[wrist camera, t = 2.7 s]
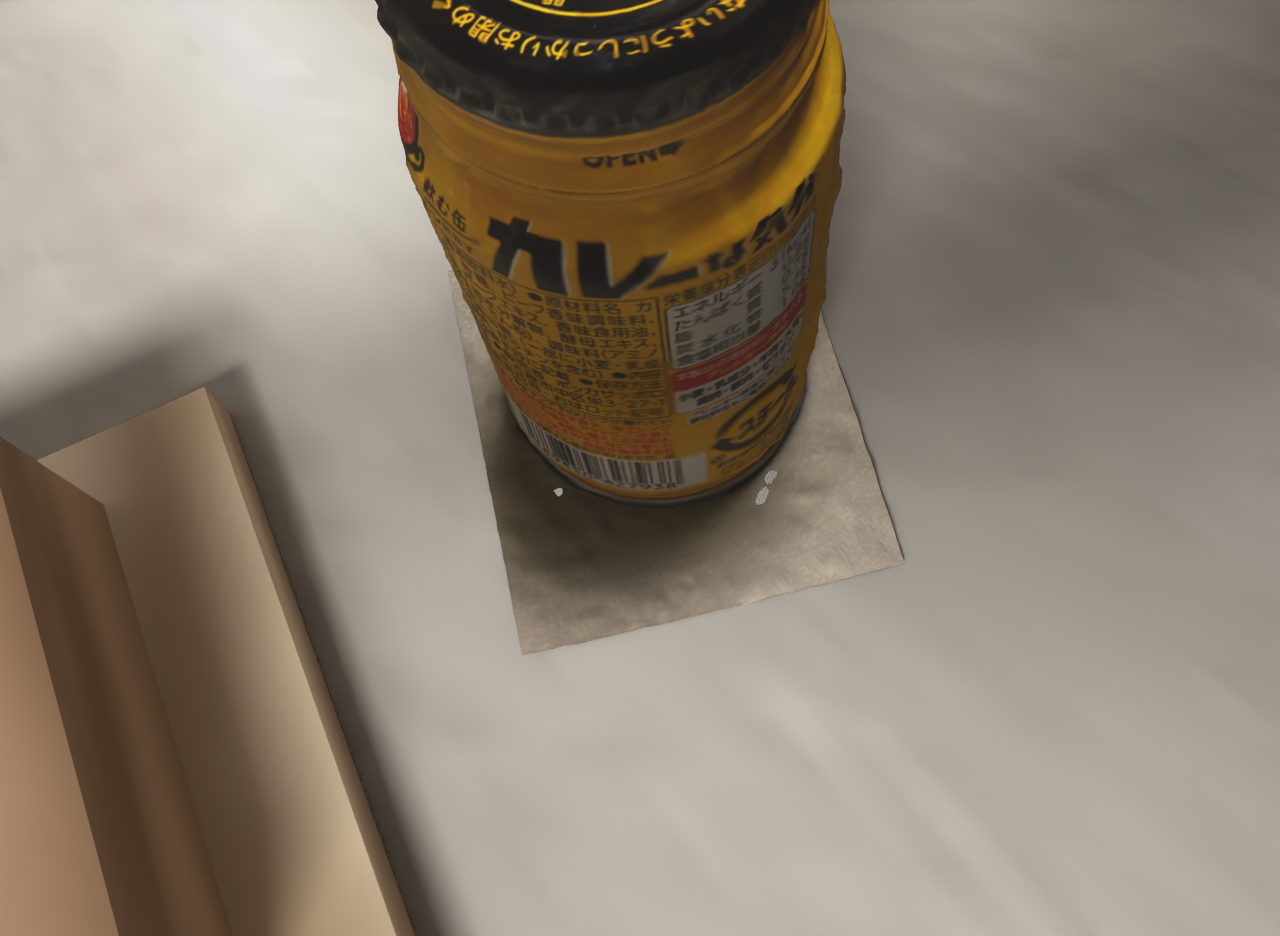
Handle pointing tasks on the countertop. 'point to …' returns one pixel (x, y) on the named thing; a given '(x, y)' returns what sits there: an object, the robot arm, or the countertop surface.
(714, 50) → the condiment
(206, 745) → the base board
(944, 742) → the countertop surface
